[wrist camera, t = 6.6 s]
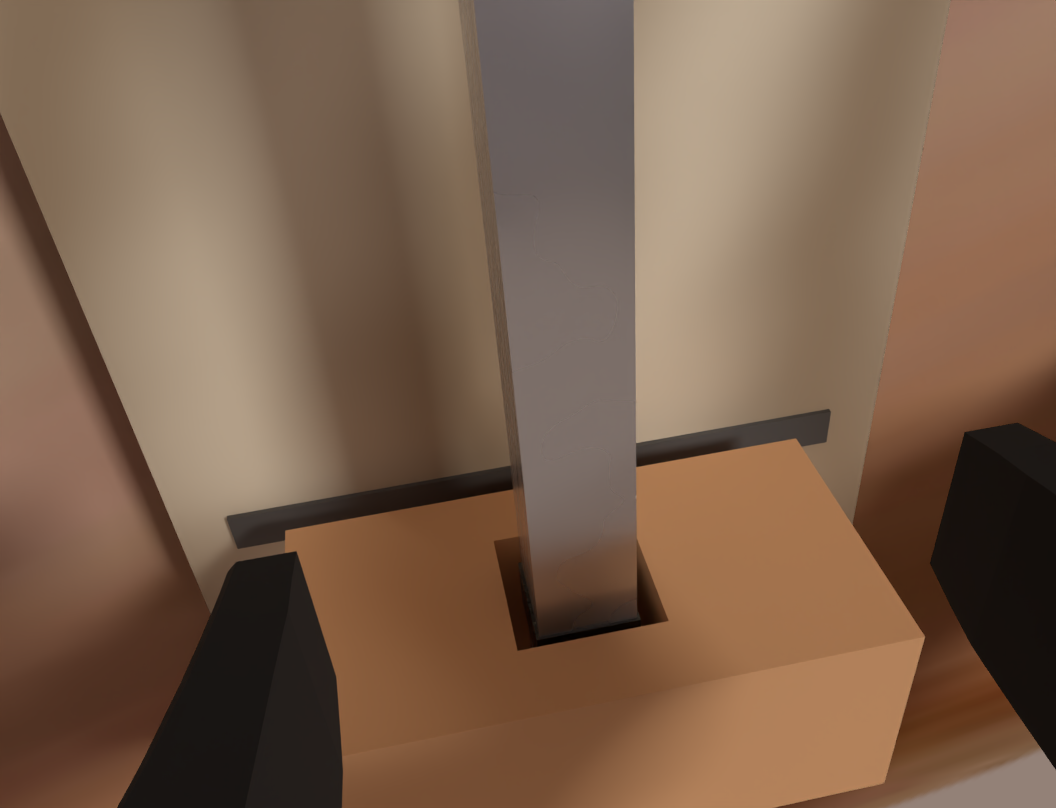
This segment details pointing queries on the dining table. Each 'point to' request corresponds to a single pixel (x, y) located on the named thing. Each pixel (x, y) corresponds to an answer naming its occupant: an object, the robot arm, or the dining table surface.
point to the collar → (618, 651)
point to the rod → (562, 294)
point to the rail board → (452, 239)
